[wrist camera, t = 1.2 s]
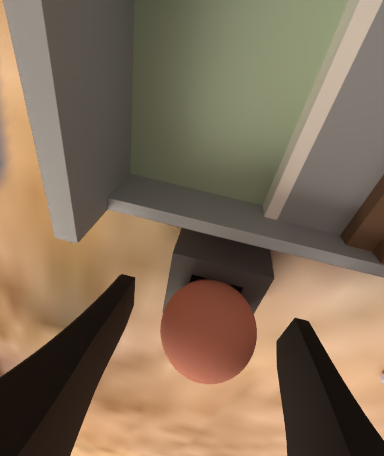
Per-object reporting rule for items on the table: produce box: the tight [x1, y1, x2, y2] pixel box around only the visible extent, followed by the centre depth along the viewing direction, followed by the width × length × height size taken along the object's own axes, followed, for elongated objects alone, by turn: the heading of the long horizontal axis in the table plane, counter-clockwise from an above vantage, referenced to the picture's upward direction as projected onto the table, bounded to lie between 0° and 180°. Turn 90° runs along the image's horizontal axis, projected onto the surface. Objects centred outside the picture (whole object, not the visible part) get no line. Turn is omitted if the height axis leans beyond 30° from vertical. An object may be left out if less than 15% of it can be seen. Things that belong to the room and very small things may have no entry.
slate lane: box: [3, 0, 384, 277], centre depth 6 cm, size 14×8×4 cm, turn 80°
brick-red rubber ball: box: [160, 280, 257, 384], centre depth 10 cm, size 4×4×4 cm
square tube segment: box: [163, 228, 274, 314], centre depth 12 cm, size 4×4×2 cm
